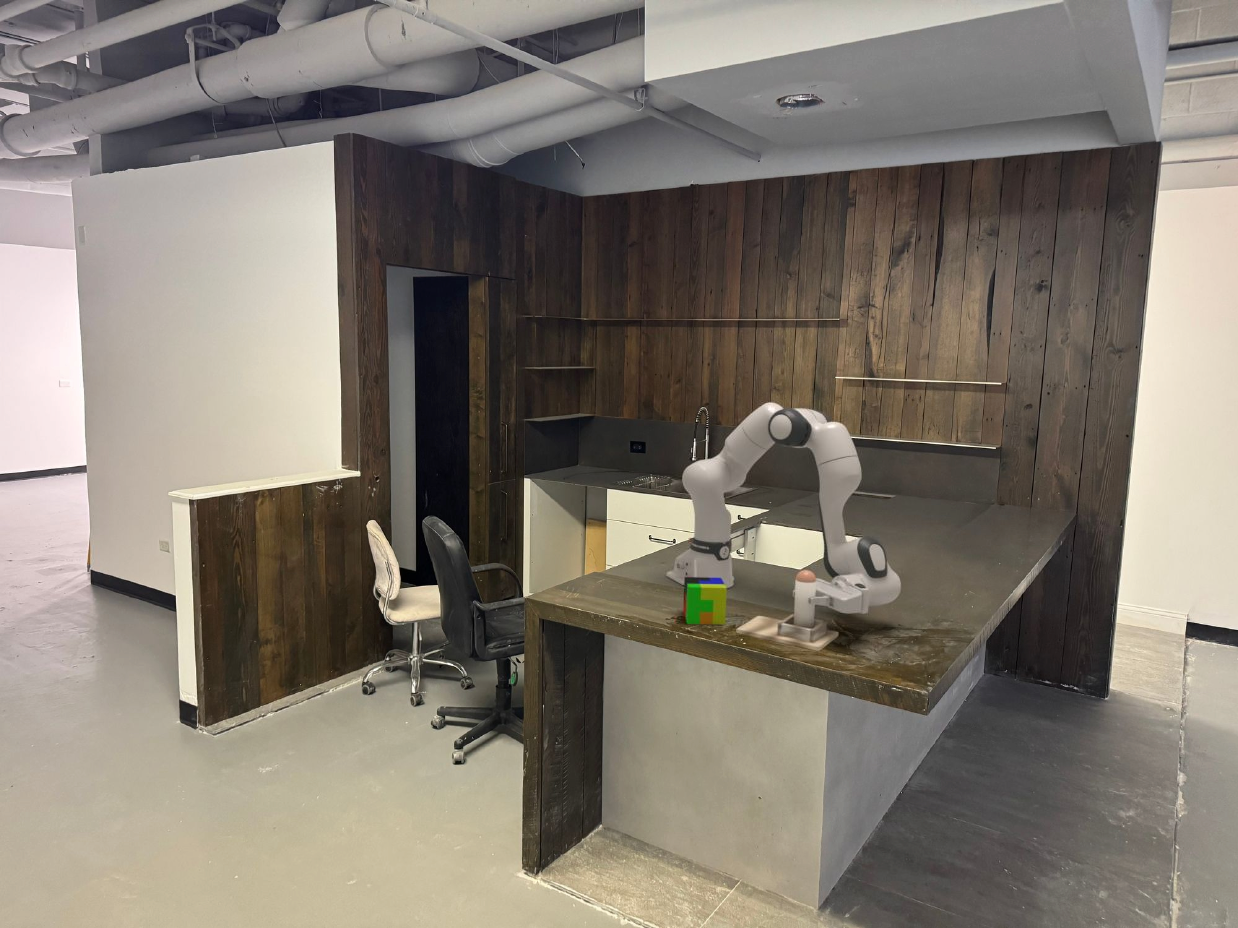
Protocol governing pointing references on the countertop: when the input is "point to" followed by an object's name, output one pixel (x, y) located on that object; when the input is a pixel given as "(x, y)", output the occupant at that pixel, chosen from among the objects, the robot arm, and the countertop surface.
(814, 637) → the jig cradle
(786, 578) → the countertop surface
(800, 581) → the dome-capped white cylinder
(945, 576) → the countertop surface
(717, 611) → the puzzle toy
